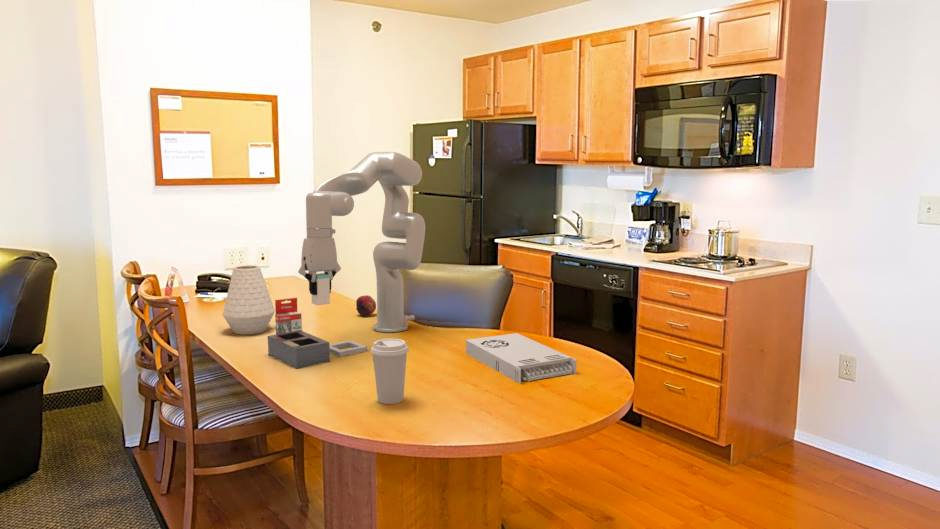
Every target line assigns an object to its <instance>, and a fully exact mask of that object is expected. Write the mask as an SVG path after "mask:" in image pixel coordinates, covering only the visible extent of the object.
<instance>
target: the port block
mask: <svg viewBox="0 0 940 529" xmlns="http://www.w3.org/2000/svg"><path fill="white" fill-rule="evenodd" d="M329 344H330V342H329V341H327V340H325V339H324V338H323V339H322V338H320V337H318V336H315V335H313V334H311V333H309V332H305V331H303V330H302V331H301V330H298V331H292V332H287V333H281V334H276V333H275V334H272V335H267V352H268V355H269V356H270V357H272V358H275V360H276V359H277V360H278V361H280V362H283V363H284V364H286V365H288V366H290V367H291V368H294V369H296V370H297V369H302V368H306V367H310V366H311V367H312V366H316V365H319V364H320V363H321V364H324V363H325V364H326V363H328V362H330V361H331V357H330V356H331V353H330V347H329ZM315 364H316V365H315Z"/></svg>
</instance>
